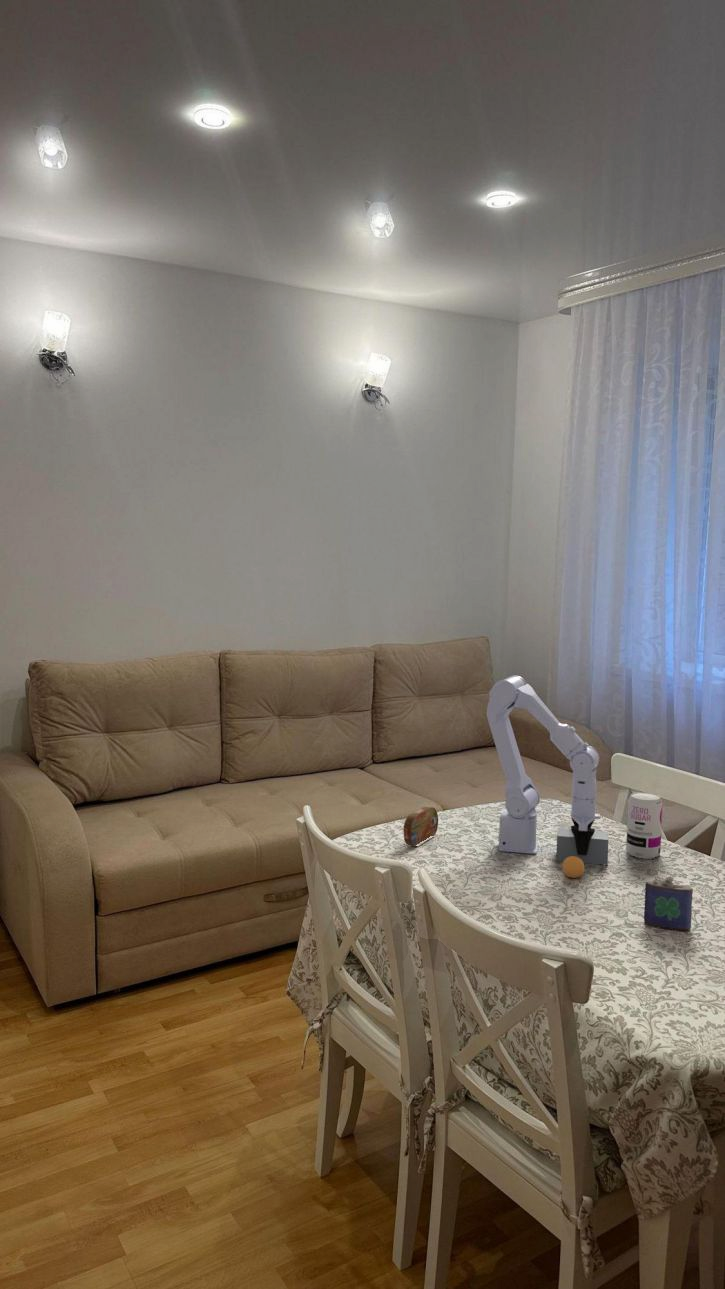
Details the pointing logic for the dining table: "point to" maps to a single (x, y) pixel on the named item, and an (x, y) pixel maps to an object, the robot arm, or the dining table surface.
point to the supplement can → (644, 825)
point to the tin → (420, 825)
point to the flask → (668, 905)
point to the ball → (573, 866)
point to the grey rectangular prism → (595, 851)
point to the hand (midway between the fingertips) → (582, 850)
